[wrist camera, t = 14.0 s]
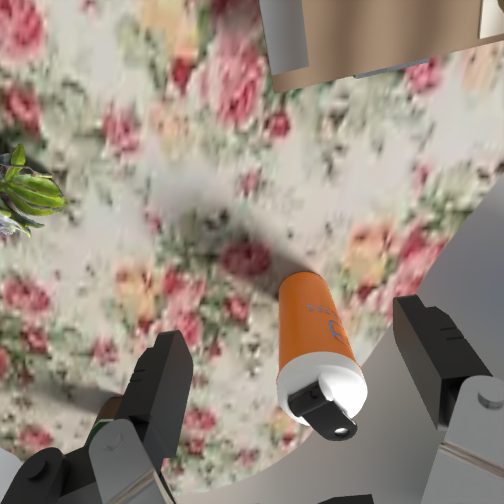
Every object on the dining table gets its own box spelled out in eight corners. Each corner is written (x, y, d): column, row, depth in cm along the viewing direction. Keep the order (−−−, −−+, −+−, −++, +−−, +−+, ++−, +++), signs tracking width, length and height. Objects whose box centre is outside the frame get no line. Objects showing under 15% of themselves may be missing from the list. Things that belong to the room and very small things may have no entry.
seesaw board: (274, 92, 31) (275, 95, 28) (255, -18, 27) (255, -26, 24) (565, 23, 28) (596, 20, 25) (591, -111, 24) (631, -131, 21)
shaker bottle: (303, 325, 52) (325, 459, 35) (259, 294, 49) (258, 423, 32) (347, 289, 49) (396, 418, 31) (302, 253, 46) (328, 374, 29)
